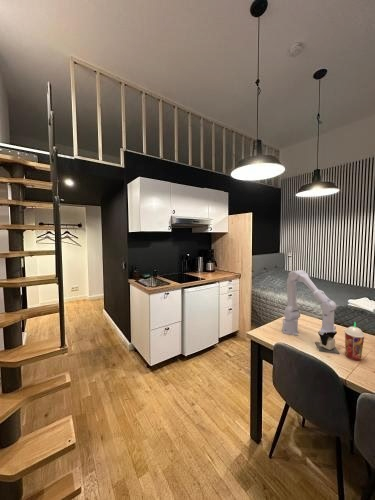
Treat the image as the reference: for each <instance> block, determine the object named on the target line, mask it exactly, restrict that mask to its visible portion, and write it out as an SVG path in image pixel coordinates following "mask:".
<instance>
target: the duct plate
mask: <svg viewBox="0 0 375 500" xmlns="http://www.w3.org/2000/svg"><path fill="white" fill-rule="evenodd" d="M314 343H315V346H316V347H317V350H318V351H319V352H321V353H322V352H323V353H330V354H334V355H340V351H339V350H338V349H337V347H336V346H335V348H333V349H331V350H329V349H326V348H324V347H322V346H320V341H314Z"/></svg>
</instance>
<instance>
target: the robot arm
mask: <svg viewBox="0 0 375 500" xmlns="http://www.w3.org/2000/svg"><path fill="white" fill-rule="evenodd" d="M298 283H304V285H305V286H306V287H307V288H308V289H309V290H310V291H311V292H312V296H313V298H315V300H316V301H317V302H318V304H320V308H321V312H322V319H321V320H322V321H321V328H320V329H319V330H318V332H317V334H318V336H319V339H320V338H321V342H322V344H323V345H325V346H326V345H327V341H328V338H329V337H331V338H333V339H335V336H336V334H337V330H336V329H337V326H335V310H337V308H338V306H337V303H336V302H335V301H334V300H332V299H330V298H329V297H328V296H327V295H326V294H325V291H323V290H321V289H319V288H318V287H317V286H316V285H315V283H314V282H313V281H312V280H311V278H310V276H309V274H308V273H307V272H306V271H305V270H304V269H299V270H298V269H297V270H291V271H290V272H288V277H287V279H286V291H287V292H286V293H287V294H286V295H287V306H286V307H285V308H284V313H283V317H284V318H282V325H281V326H282V327H281V328H282V332H283V334H286V335H291V336H292V335H293V336H299V335H300V334H299V332H298V331H299V330H298V328H299V327H298V326H299V325H298V324H299V319H300V317H301V312H300V307H298V305H297V284H298Z"/></svg>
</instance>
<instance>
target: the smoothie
mask: <svg viewBox="0 0 375 500" xmlns="http://www.w3.org/2000/svg"><path fill="white" fill-rule="evenodd" d="M353 323H354V324H353V326H348V327H347V328H346V329H345V330H344V338H345V339H344V343H345V344H344V345H345V350H344V351H345V355H346V357H347V358H349V359H350V360H353V361H360V360H361V359H362V355H363V347H364V341H365V334H364V332H363V331H362V330H361V328H359V327H358V326H357V323H356V321H354V322H353Z"/></svg>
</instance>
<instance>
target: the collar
mask: <svg viewBox="0 0 375 500" xmlns="http://www.w3.org/2000/svg"><path fill="white" fill-rule="evenodd" d="M319 342H320V346H322V347H324V348H326V349H329V350H331V349H333V348H335V347H336V339H335V338H331V337H329V338H328V341H327V345H326V346H325V345H323V344H322V342H321V338H320V337H319Z"/></svg>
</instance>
